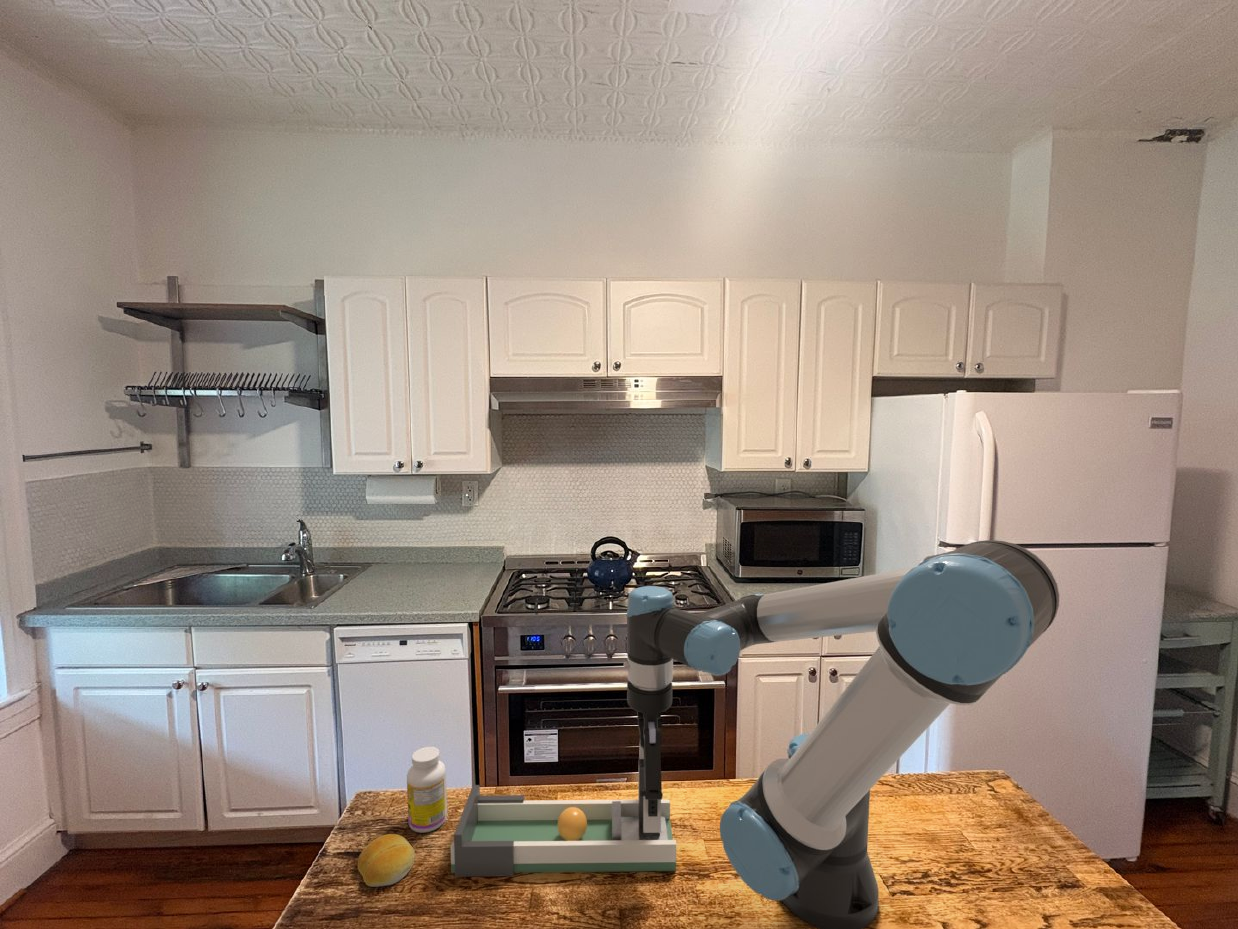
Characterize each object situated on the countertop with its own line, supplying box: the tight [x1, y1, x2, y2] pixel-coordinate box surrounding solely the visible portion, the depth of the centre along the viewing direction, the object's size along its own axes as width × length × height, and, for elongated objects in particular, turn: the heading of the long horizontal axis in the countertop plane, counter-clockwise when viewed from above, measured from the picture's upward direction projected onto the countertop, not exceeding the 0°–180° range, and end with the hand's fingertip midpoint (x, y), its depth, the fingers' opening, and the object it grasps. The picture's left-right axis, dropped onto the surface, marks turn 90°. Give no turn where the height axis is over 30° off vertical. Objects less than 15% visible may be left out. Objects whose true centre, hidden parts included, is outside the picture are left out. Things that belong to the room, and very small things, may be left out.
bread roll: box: [357, 833, 416, 888], centre depth 94 cm, size 8×9×4 cm
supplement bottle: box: [406, 746, 448, 834], centre depth 104 cm, size 7×7×13 cm
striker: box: [612, 758, 668, 841], centre depth 98 cm, size 9×8×13 cm
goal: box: [453, 784, 526, 878], centre depth 98 cm, size 9×12×7 cm
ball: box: [557, 807, 587, 841], centre depth 98 cm, size 5×5×5 cm
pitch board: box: [450, 798, 677, 874], centre depth 98 cm, size 36×11×4 cm, turn 91°
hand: (649, 802), depth 98 cm, fingers open, 13 cm apart
